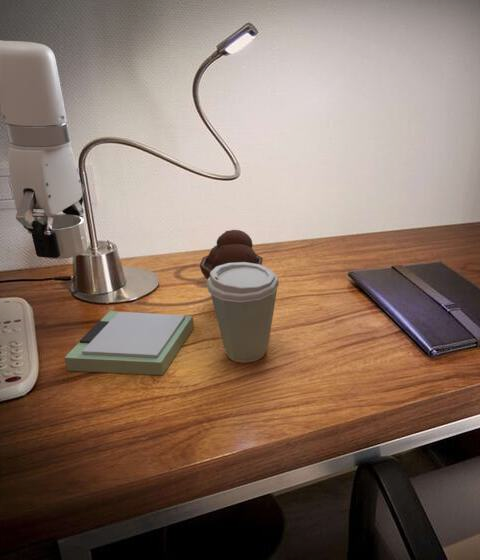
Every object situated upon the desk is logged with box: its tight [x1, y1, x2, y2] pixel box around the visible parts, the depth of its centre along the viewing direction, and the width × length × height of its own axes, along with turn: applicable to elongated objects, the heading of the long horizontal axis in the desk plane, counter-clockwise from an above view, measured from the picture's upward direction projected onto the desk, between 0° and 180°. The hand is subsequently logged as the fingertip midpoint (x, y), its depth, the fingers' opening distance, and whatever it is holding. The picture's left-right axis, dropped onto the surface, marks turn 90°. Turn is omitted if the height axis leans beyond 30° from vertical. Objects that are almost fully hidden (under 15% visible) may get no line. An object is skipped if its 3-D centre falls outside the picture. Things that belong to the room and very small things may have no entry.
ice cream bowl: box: [199, 229, 264, 281], centre depth 96 cm, size 11×11×15 cm
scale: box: [64, 310, 195, 376], centre depth 85 cm, size 14×14×3 cm
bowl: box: [37, 213, 90, 260], centre depth 83 cm, size 7×7×5 cm
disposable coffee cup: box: [206, 262, 280, 364], centre depth 83 cm, size 11×11×15 cm
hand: (62, 246), depth 84 cm, fingers closed on bowl, 7 cm apart
